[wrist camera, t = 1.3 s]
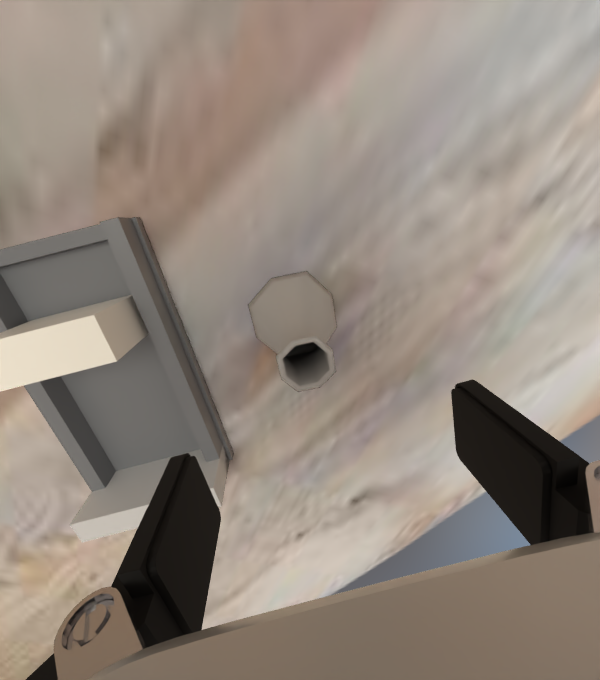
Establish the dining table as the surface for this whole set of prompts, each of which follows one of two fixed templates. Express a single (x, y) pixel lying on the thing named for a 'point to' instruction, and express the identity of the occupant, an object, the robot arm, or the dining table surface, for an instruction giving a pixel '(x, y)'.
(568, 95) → the dining table surface
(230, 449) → the grey rectangular tray
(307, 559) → the dining table surface
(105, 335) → the pusher
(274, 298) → the flask
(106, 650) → the robot arm
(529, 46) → the dining table surface
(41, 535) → the dining table surface
